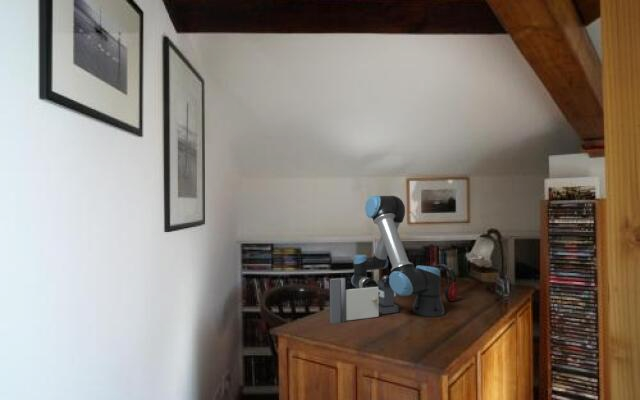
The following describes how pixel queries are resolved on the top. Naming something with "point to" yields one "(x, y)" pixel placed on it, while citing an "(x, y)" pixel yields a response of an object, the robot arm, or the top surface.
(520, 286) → the top surface
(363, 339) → the top surface
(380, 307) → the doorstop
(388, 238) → the robot arm
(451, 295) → the headphones
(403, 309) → the top surface
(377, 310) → the door
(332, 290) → the wall frame
